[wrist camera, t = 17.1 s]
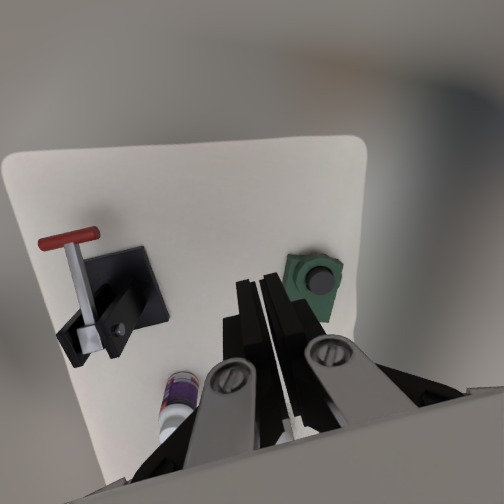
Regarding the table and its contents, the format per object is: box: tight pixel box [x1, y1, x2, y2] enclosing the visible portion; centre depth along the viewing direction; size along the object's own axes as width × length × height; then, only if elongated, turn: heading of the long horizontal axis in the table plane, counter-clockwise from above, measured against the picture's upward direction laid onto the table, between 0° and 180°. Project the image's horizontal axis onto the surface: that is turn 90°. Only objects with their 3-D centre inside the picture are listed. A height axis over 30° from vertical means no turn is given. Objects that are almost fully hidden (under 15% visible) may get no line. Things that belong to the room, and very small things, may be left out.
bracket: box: [56, 246, 170, 368], centre depth 35 cm, size 12×9×13 cm
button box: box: [283, 253, 343, 323], centre depth 42 cm, size 11×8×4 cm
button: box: [306, 267, 335, 295], centre depth 39 cm, size 4×4×2 cm
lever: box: [38, 226, 105, 354], centre depth 30 cm, size 13×6×2 cm, turn 12°
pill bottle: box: [158, 372, 199, 443], centre depth 43 cm, size 5×5×10 cm
